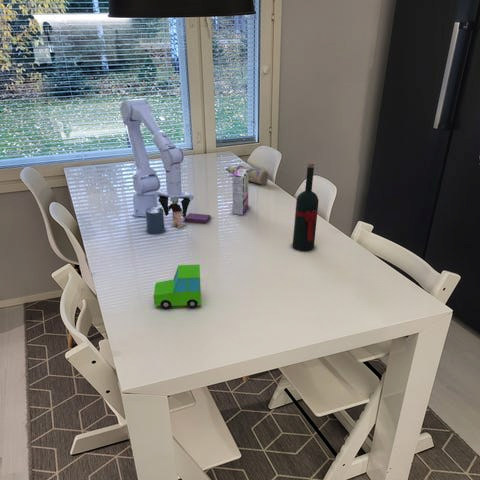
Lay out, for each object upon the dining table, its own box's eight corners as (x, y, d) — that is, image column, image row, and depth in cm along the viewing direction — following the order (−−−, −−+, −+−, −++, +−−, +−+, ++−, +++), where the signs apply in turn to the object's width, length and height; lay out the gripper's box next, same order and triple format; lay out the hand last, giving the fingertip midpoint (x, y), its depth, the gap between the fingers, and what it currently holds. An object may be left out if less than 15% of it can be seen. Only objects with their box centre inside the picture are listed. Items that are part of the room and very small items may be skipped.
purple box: (184, 221, 196) (184, 218, 195) (189, 215, 202) (189, 212, 201) (205, 223, 194) (205, 220, 194) (210, 217, 200) (210, 214, 199)
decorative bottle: (269, 183, 243) (269, 169, 239) (259, 186, 238) (260, 172, 234) (232, 172, 257) (232, 160, 254) (222, 175, 253) (222, 162, 249)
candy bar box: (237, 205, 213) (237, 168, 204) (248, 206, 212) (249, 169, 204) (231, 214, 204) (232, 175, 195) (243, 215, 203) (244, 176, 194)
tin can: (144, 233, 185) (142, 212, 180) (151, 227, 190) (149, 206, 186) (161, 235, 184) (159, 213, 179) (166, 228, 189) (165, 207, 185)
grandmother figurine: (188, 225, 192) (185, 194, 185) (183, 229, 189) (180, 198, 182) (171, 222, 195) (168, 191, 187) (166, 225, 192) (163, 194, 185)
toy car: (156, 294, 145) (153, 264, 140) (200, 292, 146) (199, 263, 141) (154, 311, 136) (151, 280, 131) (201, 310, 137) (200, 279, 132)
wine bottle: (299, 255, 170) (306, 169, 154) (289, 243, 179) (295, 161, 163) (319, 253, 172) (329, 167, 156) (309, 241, 181) (317, 160, 164)
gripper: (151, 182, 181) (154, 217, 188) (188, 186, 178) (190, 221, 186) (158, 177, 187) (160, 211, 194) (194, 180, 184) (195, 214, 191)
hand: (175, 215), depth 190 cm, fingers closed on grandmother figurine, 7 cm apart
